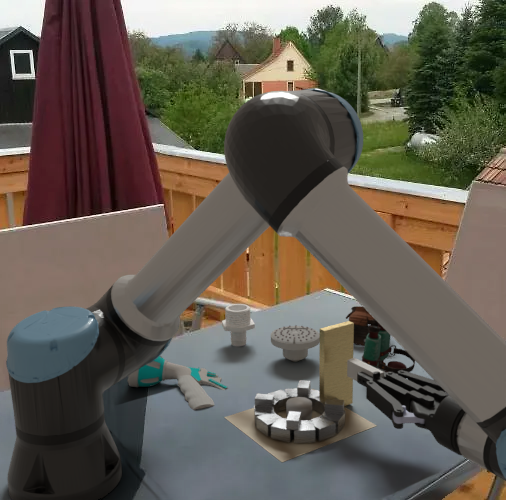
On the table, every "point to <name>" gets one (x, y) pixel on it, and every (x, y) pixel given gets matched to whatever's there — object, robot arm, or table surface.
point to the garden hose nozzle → (186, 379)
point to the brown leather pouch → (361, 323)
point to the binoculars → (382, 351)
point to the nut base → (292, 450)
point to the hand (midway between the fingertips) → (351, 367)
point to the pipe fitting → (238, 323)
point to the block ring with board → (313, 394)
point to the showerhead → (295, 341)
